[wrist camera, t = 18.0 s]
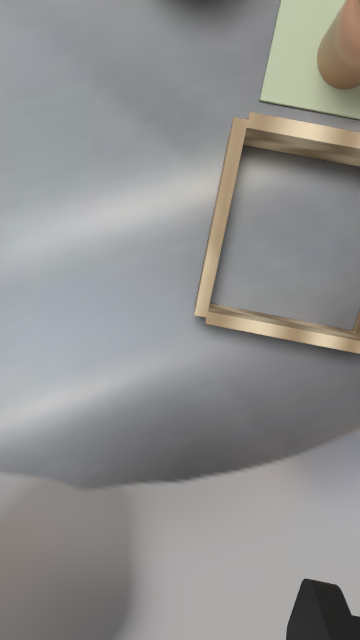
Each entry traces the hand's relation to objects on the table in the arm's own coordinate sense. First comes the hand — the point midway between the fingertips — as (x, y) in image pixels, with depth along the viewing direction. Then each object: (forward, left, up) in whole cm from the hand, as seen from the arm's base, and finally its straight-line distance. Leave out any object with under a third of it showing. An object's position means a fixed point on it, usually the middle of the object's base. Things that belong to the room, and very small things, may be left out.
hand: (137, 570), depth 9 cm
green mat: (+10, +27, -30) cm, 42 cm away
